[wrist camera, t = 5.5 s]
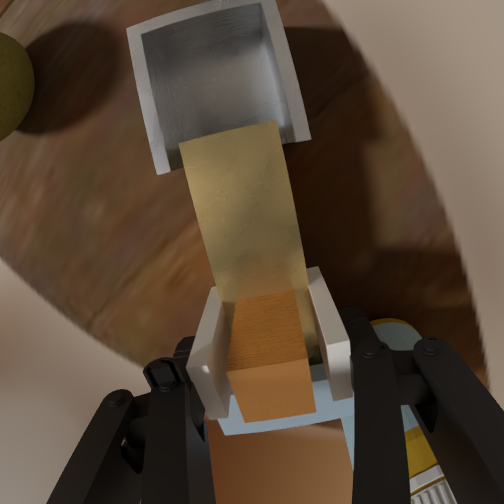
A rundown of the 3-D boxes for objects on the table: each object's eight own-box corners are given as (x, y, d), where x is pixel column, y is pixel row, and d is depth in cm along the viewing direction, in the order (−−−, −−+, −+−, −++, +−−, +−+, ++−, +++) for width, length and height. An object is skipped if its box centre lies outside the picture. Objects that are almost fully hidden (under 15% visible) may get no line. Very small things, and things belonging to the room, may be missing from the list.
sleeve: (159, 54, 15) (126, 28, 11) (269, 27, 15) (271, -11, 10) (184, 166, 17) (157, 175, 13) (297, 141, 17) (311, 139, 12)
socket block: (222, 322, 21) (207, 397, 14) (330, 301, 20) (358, 372, 13) (234, 358, 21) (225, 435, 15) (334, 339, 21) (359, 413, 14)
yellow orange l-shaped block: (197, 143, 16) (131, 144, 8) (272, 126, 16) (286, 104, 7) (251, 351, 20) (246, 468, 12) (313, 340, 20) (339, 454, 11)
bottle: (411, 298, 20) (536, 470, 6) (420, 369, 22) (499, 521, 8) (316, 335, 21) (365, 553, 7) (339, 400, 23) (378, 573, 9)
